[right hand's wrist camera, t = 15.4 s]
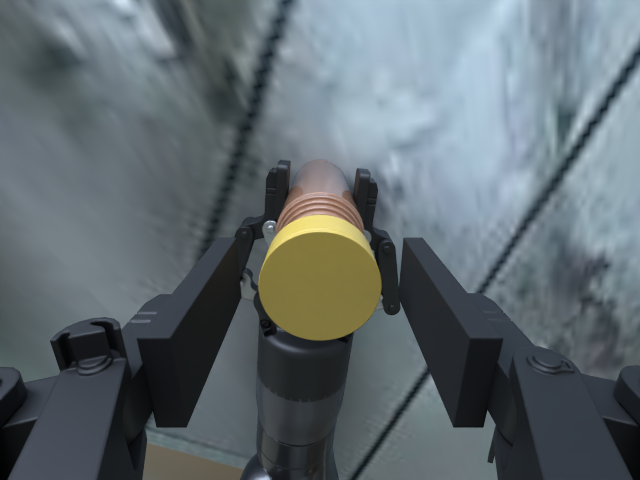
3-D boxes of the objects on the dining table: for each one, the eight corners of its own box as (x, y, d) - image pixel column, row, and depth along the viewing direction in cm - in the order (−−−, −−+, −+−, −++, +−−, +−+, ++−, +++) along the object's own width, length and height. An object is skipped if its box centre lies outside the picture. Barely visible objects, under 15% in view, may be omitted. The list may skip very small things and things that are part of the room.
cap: (286, 198, 13) (281, 212, 12) (391, 236, 14) (402, 256, 12) (253, 292, 15) (243, 320, 13) (348, 324, 16) (353, 354, 14)
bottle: (358, 187, 30) (406, 282, 13) (319, 223, 31) (319, 353, 14) (320, 147, 28) (320, 197, 12) (281, 187, 30) (233, 282, 13)
